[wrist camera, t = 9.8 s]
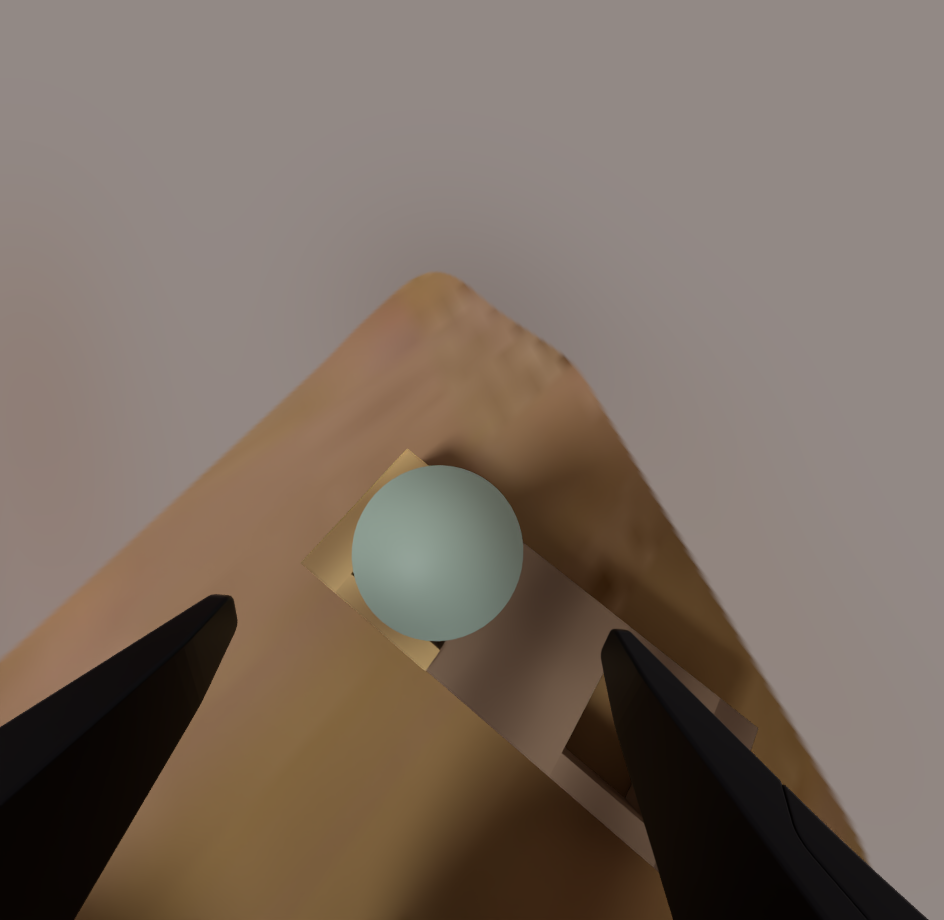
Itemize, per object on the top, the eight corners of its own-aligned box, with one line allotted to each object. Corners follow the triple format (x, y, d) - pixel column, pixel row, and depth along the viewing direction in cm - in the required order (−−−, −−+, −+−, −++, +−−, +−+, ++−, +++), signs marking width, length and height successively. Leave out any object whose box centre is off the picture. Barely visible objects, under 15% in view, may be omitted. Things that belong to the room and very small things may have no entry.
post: (452, 609, 19) (503, 662, 7) (388, 592, 19) (323, 614, 7) (469, 543, 20) (537, 489, 8) (408, 527, 20) (385, 446, 8)
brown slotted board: (709, 706, 19) (764, 730, 16) (651, 850, 17) (702, 912, 14) (409, 467, 21) (407, 448, 18) (320, 565, 19) (300, 563, 16)
